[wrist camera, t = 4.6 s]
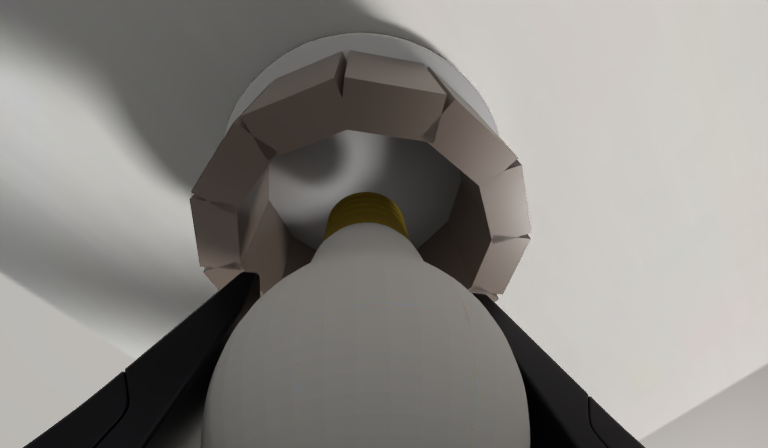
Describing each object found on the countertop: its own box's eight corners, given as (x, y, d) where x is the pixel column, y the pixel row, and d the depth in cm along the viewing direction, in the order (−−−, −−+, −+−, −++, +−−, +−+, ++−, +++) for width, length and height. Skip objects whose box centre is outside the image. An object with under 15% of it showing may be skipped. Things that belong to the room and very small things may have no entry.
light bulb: (256, 233, 13) (71, 664, 5) (334, 96, 10) (225, 520, 2) (387, 292, 15) (418, 664, 7) (480, 189, 12) (713, 591, 4)
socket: (453, 286, 18) (478, 369, 15) (236, 266, 17) (198, 352, 13) (539, 63, 12) (622, 100, 9) (215, 1, 11) (132, 11, 7)
